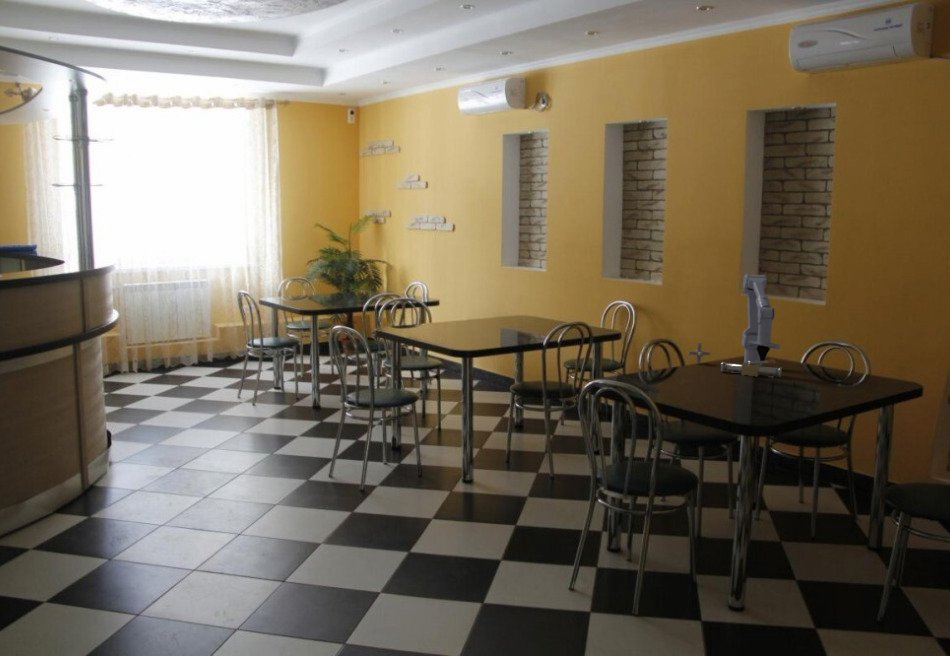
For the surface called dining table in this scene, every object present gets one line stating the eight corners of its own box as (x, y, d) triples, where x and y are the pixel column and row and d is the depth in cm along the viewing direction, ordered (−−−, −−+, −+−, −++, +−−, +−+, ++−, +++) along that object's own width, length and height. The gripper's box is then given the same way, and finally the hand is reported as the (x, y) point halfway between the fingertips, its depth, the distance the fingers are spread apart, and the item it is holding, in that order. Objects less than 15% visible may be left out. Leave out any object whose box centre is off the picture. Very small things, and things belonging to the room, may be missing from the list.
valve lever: (750, 364, 386) (750, 361, 385) (746, 363, 388) (746, 360, 388) (775, 363, 390) (776, 360, 390) (771, 362, 392) (772, 359, 392)
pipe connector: (711, 365, 409) (712, 344, 408) (690, 365, 409) (691, 344, 408) (706, 361, 419) (707, 341, 418) (685, 361, 419) (686, 341, 418)
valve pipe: (722, 370, 397) (723, 360, 396) (781, 376, 385) (782, 365, 384) (719, 372, 391) (720, 362, 390) (779, 379, 379) (780, 368, 379)
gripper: (745, 332, 391) (743, 361, 393) (775, 336, 381) (773, 365, 383) (752, 330, 396) (750, 359, 398) (782, 334, 386) (780, 364, 388)
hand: (762, 362), depth 391 cm, fingers closed
